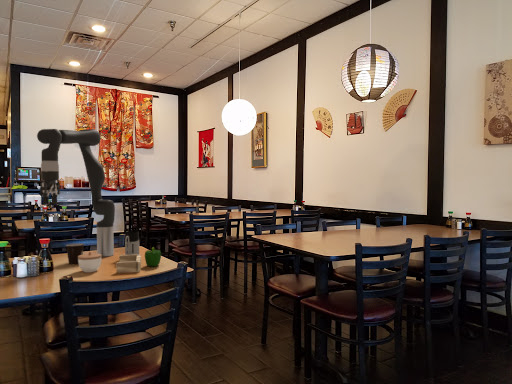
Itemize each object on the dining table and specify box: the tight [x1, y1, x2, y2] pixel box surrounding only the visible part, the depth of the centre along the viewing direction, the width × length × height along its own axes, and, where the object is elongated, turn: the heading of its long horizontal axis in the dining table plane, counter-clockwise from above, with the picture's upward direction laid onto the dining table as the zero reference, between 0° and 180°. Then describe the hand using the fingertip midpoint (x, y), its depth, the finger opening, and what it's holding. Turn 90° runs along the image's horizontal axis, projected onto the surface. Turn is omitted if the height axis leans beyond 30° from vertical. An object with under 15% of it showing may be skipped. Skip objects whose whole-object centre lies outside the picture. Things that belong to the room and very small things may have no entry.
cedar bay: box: [115, 253, 142, 274], centre depth 193 cm, size 20×11×5 cm, turn 16°
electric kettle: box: [124, 230, 140, 255], centre depth 216 cm, size 9×14×15 cm, turn 178°
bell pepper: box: [144, 246, 162, 267], centre depth 198 cm, size 8×8×10 cm
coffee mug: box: [65, 243, 85, 265], centre depth 203 cm, size 12×9×10 cm
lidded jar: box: [78, 251, 103, 273], centre depth 187 cm, size 11×11×9 cm
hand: (50, 204), depth 182 cm, fingers open, 8 cm apart
